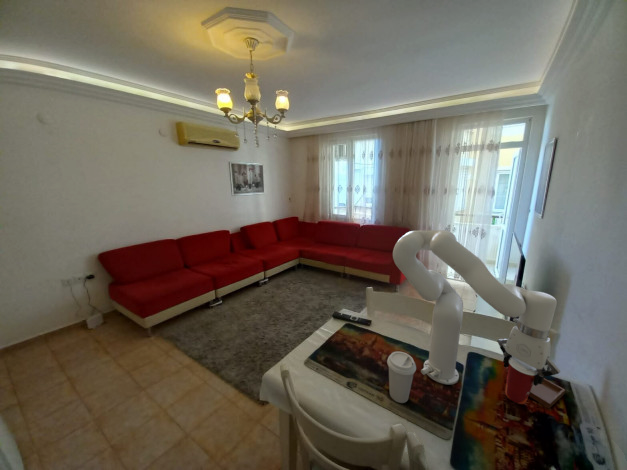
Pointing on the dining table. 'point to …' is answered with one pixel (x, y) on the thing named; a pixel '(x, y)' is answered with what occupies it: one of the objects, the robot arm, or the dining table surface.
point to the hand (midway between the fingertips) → (521, 374)
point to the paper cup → (519, 380)
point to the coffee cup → (400, 375)
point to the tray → (546, 393)
